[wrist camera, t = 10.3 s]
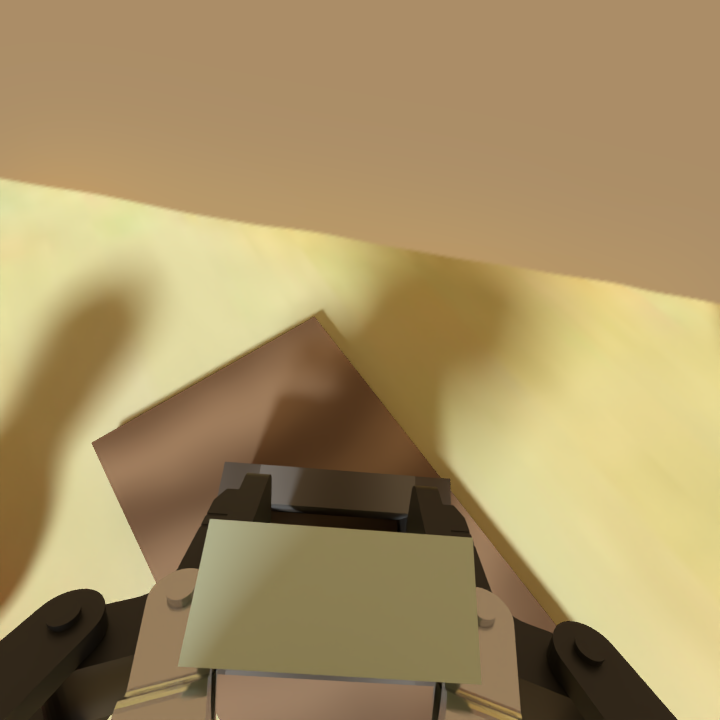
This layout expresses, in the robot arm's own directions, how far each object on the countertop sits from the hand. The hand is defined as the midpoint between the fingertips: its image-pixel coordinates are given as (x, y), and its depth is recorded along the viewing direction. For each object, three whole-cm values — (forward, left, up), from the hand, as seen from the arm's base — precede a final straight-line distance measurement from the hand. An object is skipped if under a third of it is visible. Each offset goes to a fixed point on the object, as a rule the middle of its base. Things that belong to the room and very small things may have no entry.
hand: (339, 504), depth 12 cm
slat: (+2, -1, -5) cm, 6 cm away
